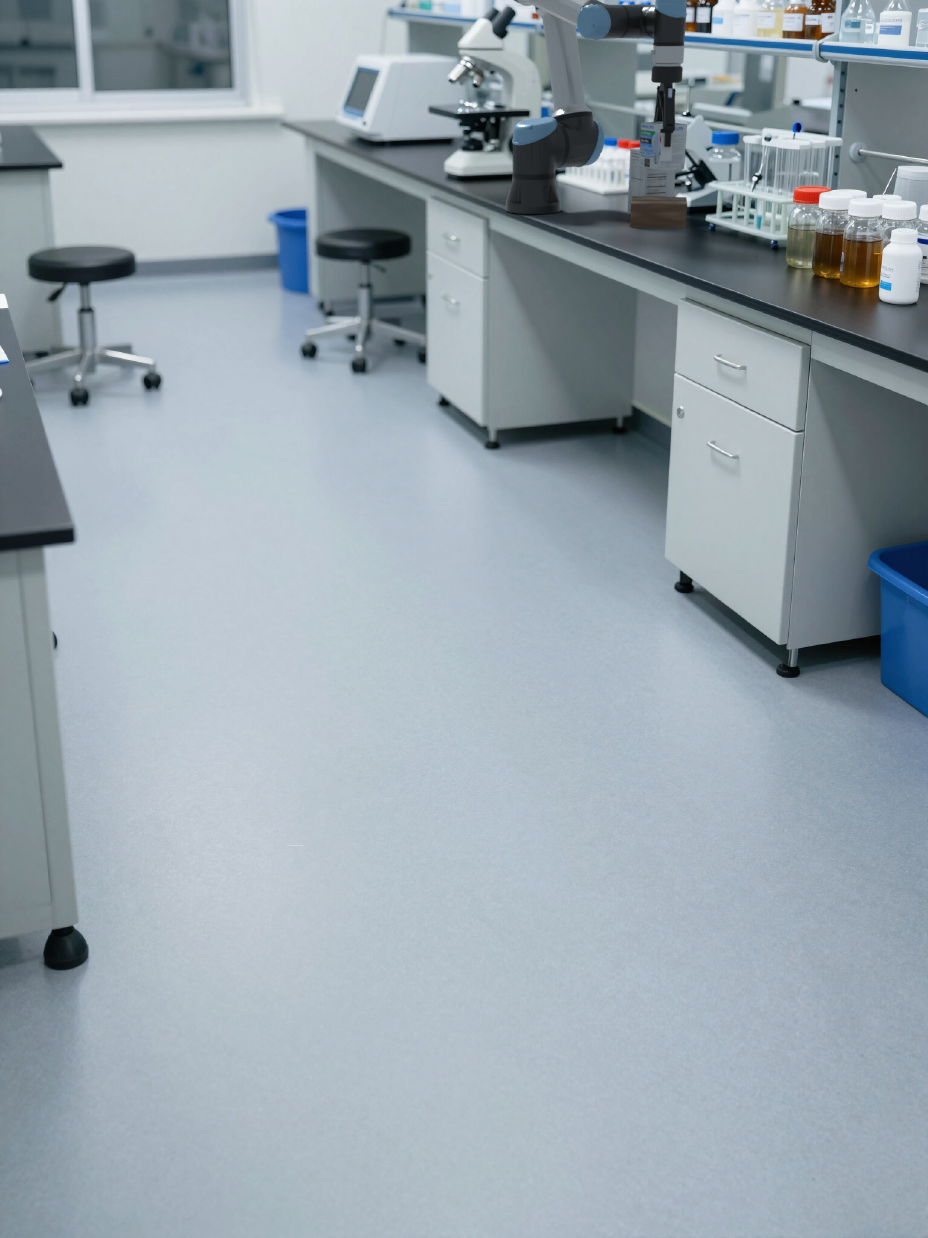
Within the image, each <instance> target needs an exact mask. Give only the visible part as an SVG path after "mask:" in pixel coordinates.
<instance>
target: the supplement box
mask: <svg viewBox="0 0 928 1238" xmlns="http://www.w3.org/2000/svg"><path fill="white" fill-rule="evenodd" d="M639 152H640V147H631V148H630V149H629V169H628V173H629V174H628V192H627V193H628V194H627V195H628V196H627V212H626V213H627V214H629V215H631V201H632V196H645V197H675V186H676V185H675V181H676V170H670V171H662V170H656V169H650V168H644V167H639Z"/></svg>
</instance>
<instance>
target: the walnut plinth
mask: <svg viewBox="0 0 928 1238" xmlns="http://www.w3.org/2000/svg"><path fill="white" fill-rule="evenodd" d="M687 199H688V198H687V197H686V196H674V197H645V196H632V201H631V214H629V215H630V219H629V220H630V221H629V227H630V228H657V229H658V228H662V229H663V228H665V229H666V228H667V229H668V228H669V229H670V228H671V229H686V225H687V224H686V223H687V215H688V214H687V213H688V212H687V211H688V200H687Z"/></svg>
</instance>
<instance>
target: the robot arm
mask: <svg viewBox="0 0 928 1238" xmlns="http://www.w3.org/2000/svg"><path fill="white" fill-rule="evenodd" d="M513 1H514V2H516V3H517V4H520V5H522V6H524V7H531V6H533V7H534V8H535V14H536V15H537V16H538V17H539V18H541V20H542V27H543V35H544V41H545V47H546V49H545V50H546V56H547V64H548V72H549V80H550V85H551V86H550V87H551V94H552V102H553V108H554V112H553V114H552V115H551V117H538V118H537V117H536V118H535V117H533V118H529V119H524V120H521V121H519V122H517V123H516V124H515V125H514V127H513V132H512V138H511V139H512V140H511V142H512V178H511V179H512V180H511V181H512V182H511V184H510V188H509V191H508V194H507V197H506V201H505V211H506V212H508V213H512V214H513V213H514V214H522V215H524V214H525V215H544V214H545V215H546V214H554V213H559V212H561V209H562V208H561V207H562V203H561V199H560V194H559V191H558V188H557V183H556V169H565V168H581V167H585V166H590V165H593V164H594V163H595V162H596V161H598V160H599V158H600V156H601V153H602V152H603V150H604V146H605V132H604V131H605V130H604V128H603V126H602V125H601V123H600V122H599V121H597V120H595V119H594V115H593V111H592V110H591V109H590V108H589V107H588V106H587V104H586V99H585V89H584V82H583V74H582V67H581V66H582V65H581V58H580V57H581V56H580V51H579V43H578V35H577V31H578V32H579V33H580V34H579V35H580V36H581V37H582V38H584V39H587V40H588V39H590V40H594V41H595V40H596V41H597V40H611V39H612V40H613V39H653V43H652V45H653V49H652V50H650V55H652V63H653V64H654V66H652V67H651V77H650V78H651V79H650V80H651V82H652V83H656V84H659V85H657V87H656V99H655V107H654V117H653V121H652V122H658V121H660V122H663V129H661V130H660V133H662V138H661V155H660V161H672V144H673V131H675V123H676V88H675V87H673V86H674V85H673V84H678V83H682V81H683V71H684V68H683V66H681V65H682V64H684V59H685V58H684V57H685V56H684V55H685V38H686V37H685V35H686V24H687V15H688V12H687V0H655V3H654V4H640V3H638V4H635V3H633V4H607V3H604V2H602V1H599V0H513Z"/></svg>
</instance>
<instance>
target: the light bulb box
mask: <svg viewBox="0 0 928 1238" xmlns="http://www.w3.org/2000/svg"><path fill="white" fill-rule="evenodd" d="M661 129H663V122H660V121H658V122H653V121H652V122H651V121H650V122H648V121H647V122H641V123H640V136H639V138H640V139H639V148H640V152H639V167H644V168H650V169H656V170H662V171H670V170H675V171H679V170H685V161H686V147H687V134H688V123H678V122H675V131H673V144H672V161H660V155H661V138H662V133H660V130H661Z"/></svg>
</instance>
